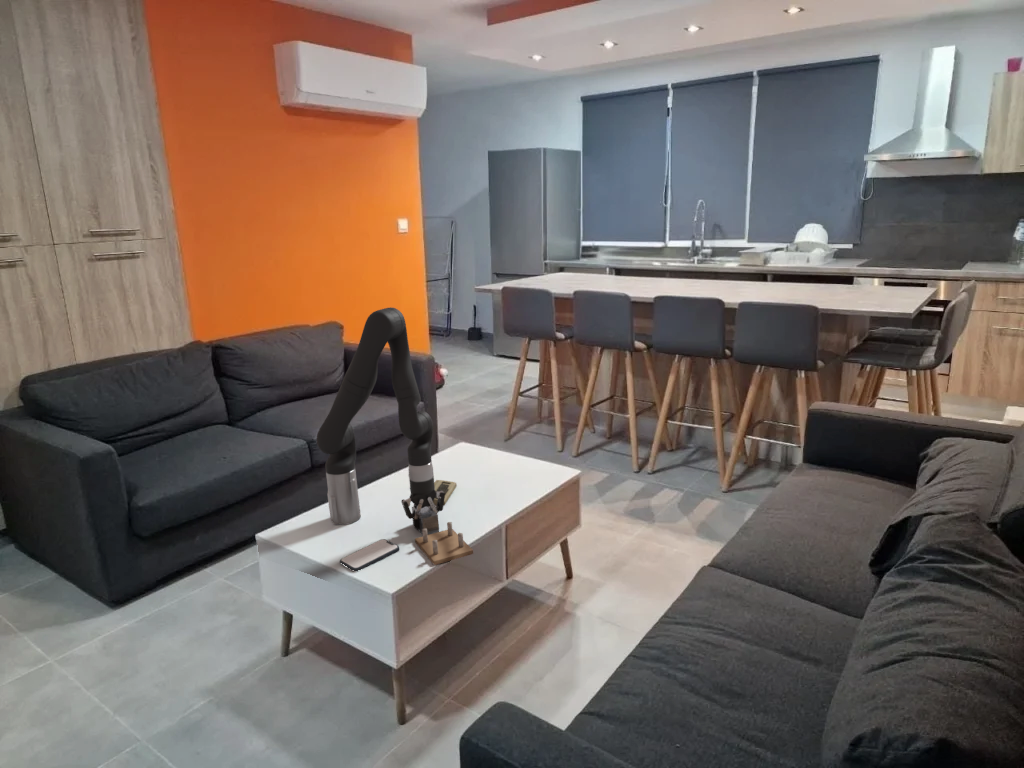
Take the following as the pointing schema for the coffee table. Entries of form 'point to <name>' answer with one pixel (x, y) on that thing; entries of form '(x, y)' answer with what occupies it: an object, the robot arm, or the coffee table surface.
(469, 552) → the tray
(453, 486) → the computer
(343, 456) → the robot arm
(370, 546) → the smartphone
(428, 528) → the block
